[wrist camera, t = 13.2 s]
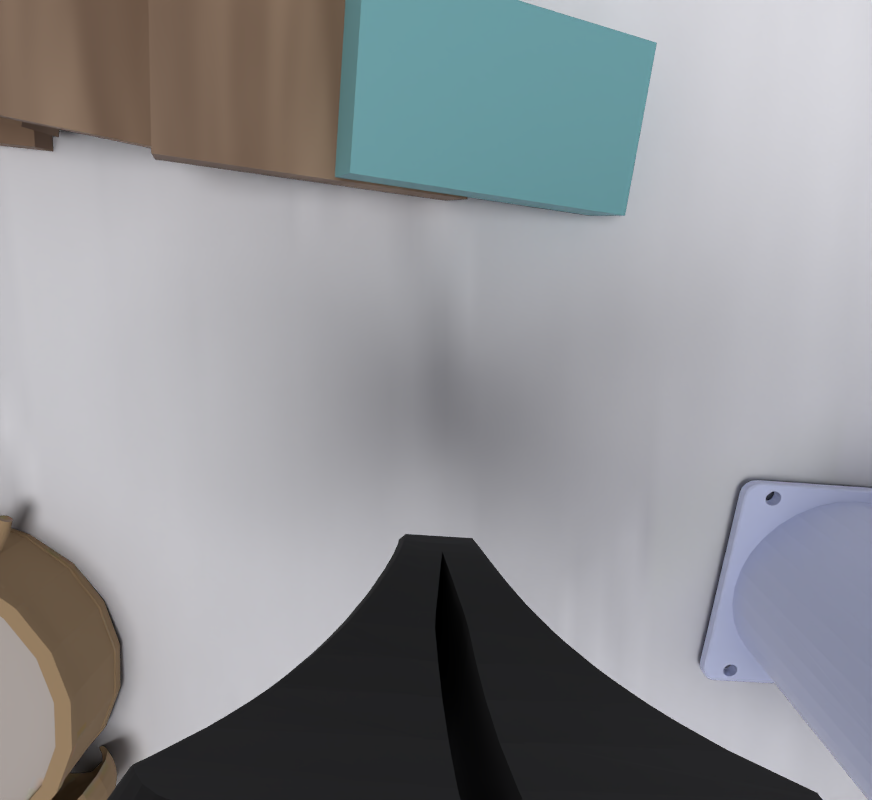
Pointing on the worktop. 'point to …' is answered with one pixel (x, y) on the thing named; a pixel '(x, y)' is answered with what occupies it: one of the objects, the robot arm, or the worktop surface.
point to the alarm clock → (52, 674)
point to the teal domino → (491, 102)
